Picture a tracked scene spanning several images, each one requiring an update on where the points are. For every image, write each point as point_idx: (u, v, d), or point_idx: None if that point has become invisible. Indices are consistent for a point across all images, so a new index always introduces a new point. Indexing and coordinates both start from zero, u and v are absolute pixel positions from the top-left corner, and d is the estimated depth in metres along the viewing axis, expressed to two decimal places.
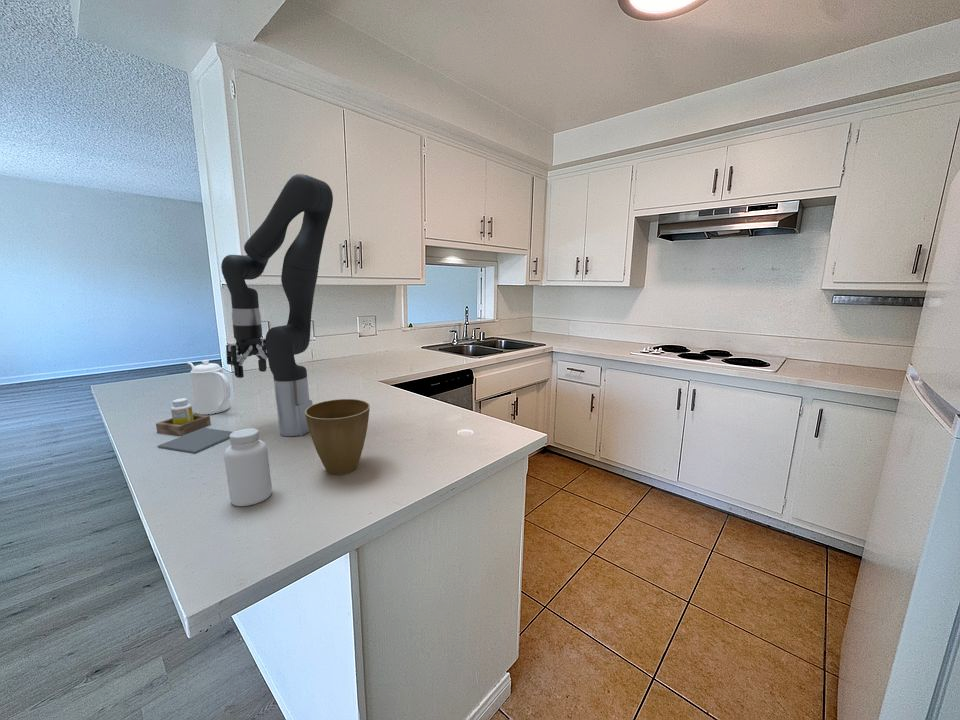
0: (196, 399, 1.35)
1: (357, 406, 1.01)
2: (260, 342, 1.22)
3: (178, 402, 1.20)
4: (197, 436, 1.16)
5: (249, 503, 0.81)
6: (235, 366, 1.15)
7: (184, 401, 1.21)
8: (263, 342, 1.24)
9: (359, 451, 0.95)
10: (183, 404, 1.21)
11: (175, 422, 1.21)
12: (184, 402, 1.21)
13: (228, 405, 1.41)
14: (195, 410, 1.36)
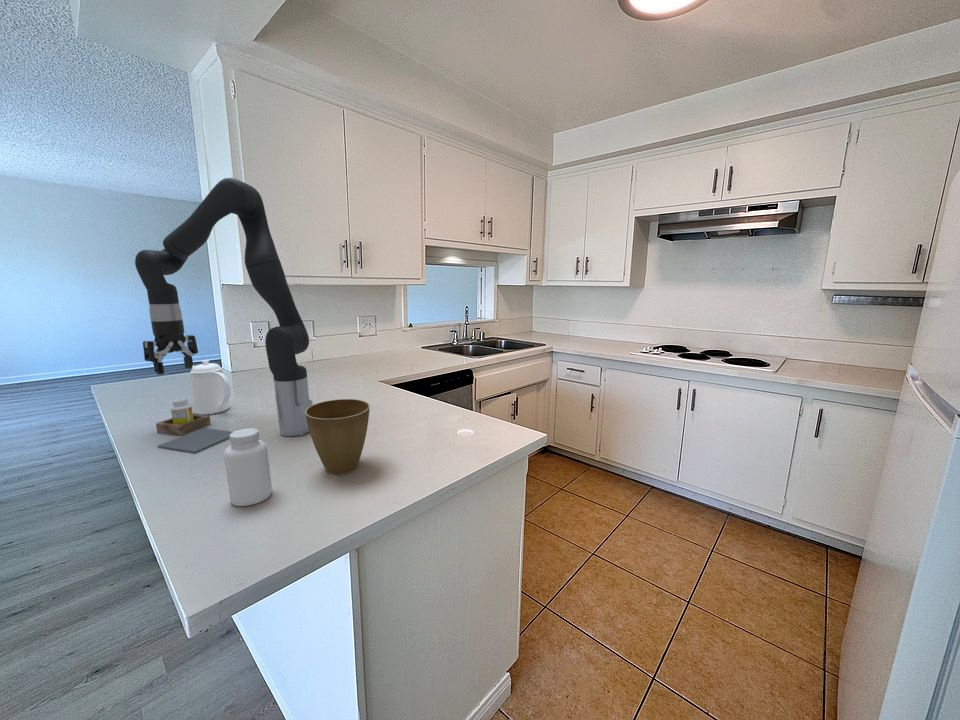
0: (196, 399, 1.35)
1: (357, 406, 1.01)
2: (183, 338, 1.21)
3: (178, 402, 1.20)
4: (197, 436, 1.16)
5: (249, 503, 0.81)
6: (154, 363, 1.14)
7: (184, 401, 1.21)
8: (188, 338, 1.23)
9: (359, 451, 0.95)
10: (183, 404, 1.21)
11: (175, 422, 1.21)
12: (184, 402, 1.21)
13: (228, 405, 1.41)
14: (195, 410, 1.36)
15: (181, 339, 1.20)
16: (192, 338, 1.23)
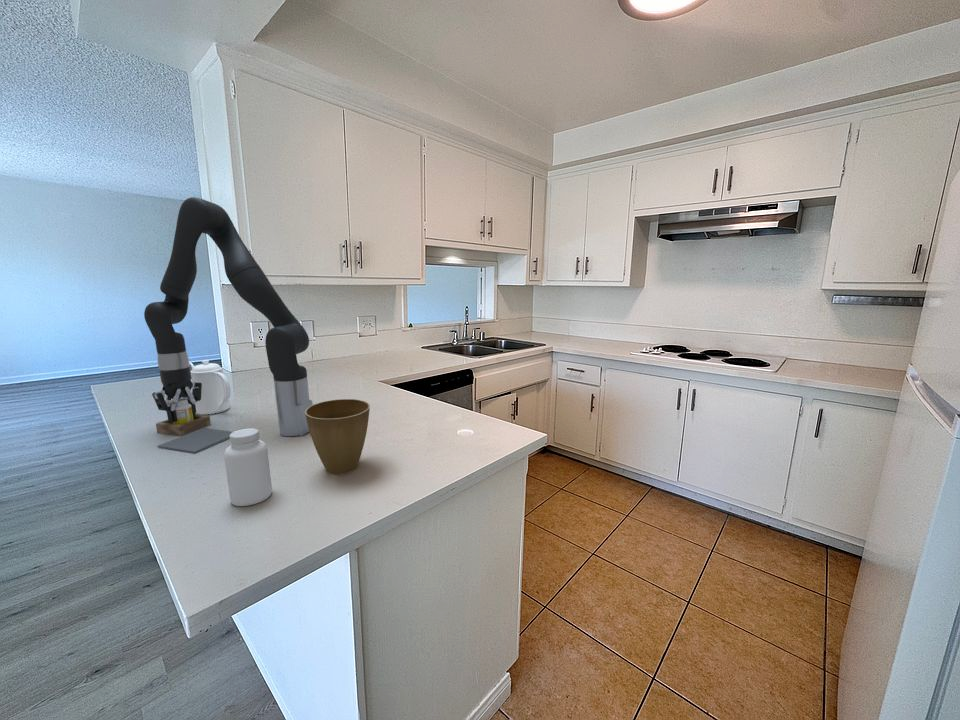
0: None
1: (357, 406, 1.01)
2: (190, 384, 1.24)
3: (178, 402, 1.20)
4: (197, 436, 1.16)
5: (249, 503, 0.81)
6: (167, 411, 1.18)
7: (184, 401, 1.21)
8: (194, 385, 1.26)
9: (359, 451, 0.95)
10: (183, 404, 1.21)
11: (175, 422, 1.21)
12: (184, 402, 1.21)
13: (228, 405, 1.41)
14: None
15: (188, 385, 1.23)
16: (199, 385, 1.26)
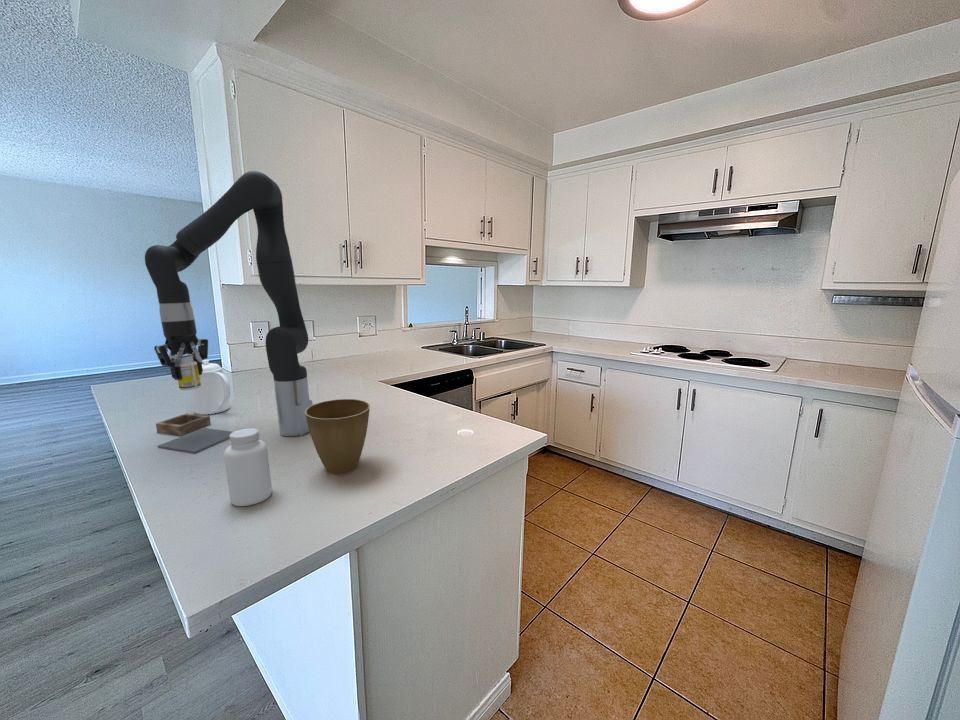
0: (196, 399, 1.35)
1: (357, 406, 1.01)
2: (196, 340, 1.14)
3: (182, 358, 1.10)
4: (197, 436, 1.16)
5: (249, 503, 0.81)
6: (171, 367, 1.08)
7: (189, 357, 1.11)
8: (200, 342, 1.15)
9: (359, 451, 0.95)
10: (188, 360, 1.11)
11: (180, 380, 1.11)
12: (189, 358, 1.11)
13: (228, 405, 1.41)
14: (195, 410, 1.36)
15: (193, 340, 1.13)
16: (205, 342, 1.16)
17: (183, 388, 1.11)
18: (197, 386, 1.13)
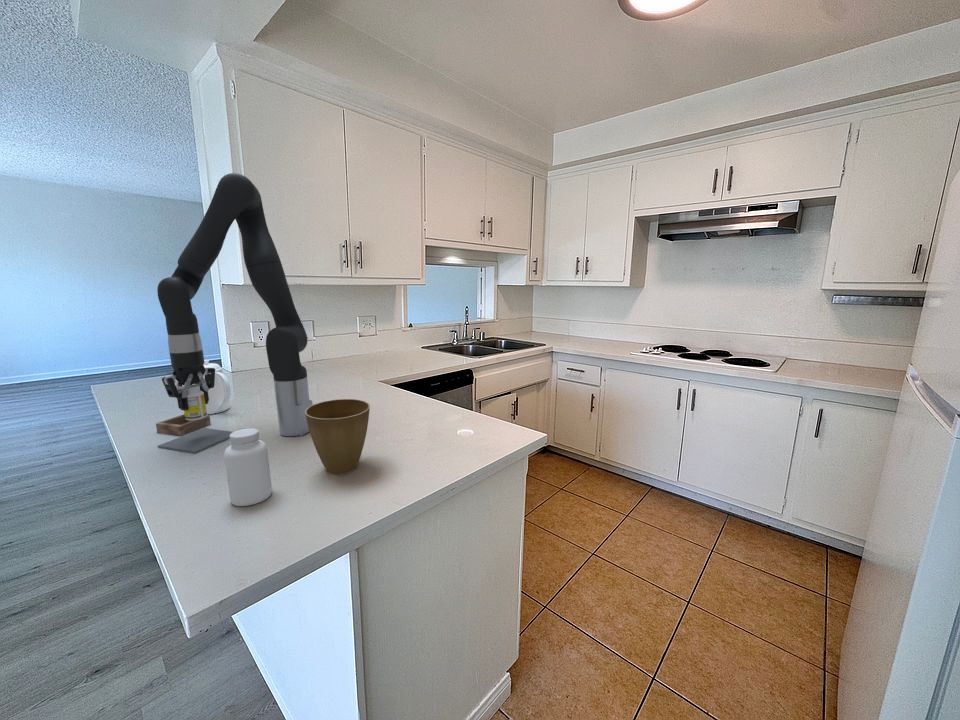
0: None
1: (357, 406, 1.01)
2: (203, 369, 1.13)
3: (190, 388, 1.10)
4: (197, 436, 1.16)
5: (249, 503, 0.81)
6: (178, 398, 1.08)
7: (196, 388, 1.11)
8: (207, 371, 1.15)
9: (359, 451, 0.95)
10: (195, 391, 1.10)
11: (186, 410, 1.10)
12: (196, 388, 1.11)
13: (228, 405, 1.41)
14: None
15: (201, 370, 1.12)
16: (212, 371, 1.16)
17: (189, 418, 1.10)
18: (203, 416, 1.12)
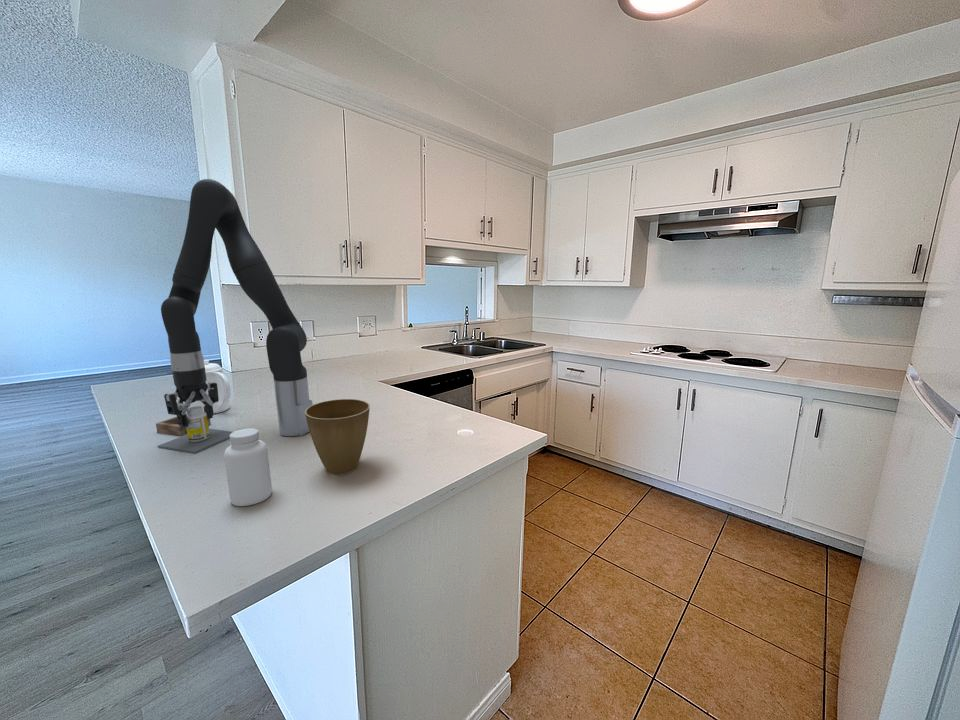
0: None
1: (357, 406, 1.01)
2: (205, 386, 1.14)
3: (192, 410, 1.11)
4: None
5: (249, 503, 0.81)
6: (178, 415, 1.08)
7: (199, 409, 1.12)
8: (209, 386, 1.16)
9: (359, 451, 0.95)
10: (198, 413, 1.11)
11: (189, 432, 1.11)
12: (199, 410, 1.12)
13: (228, 405, 1.41)
14: None
15: (203, 387, 1.13)
16: (214, 386, 1.16)
17: (192, 440, 1.11)
18: (206, 437, 1.13)
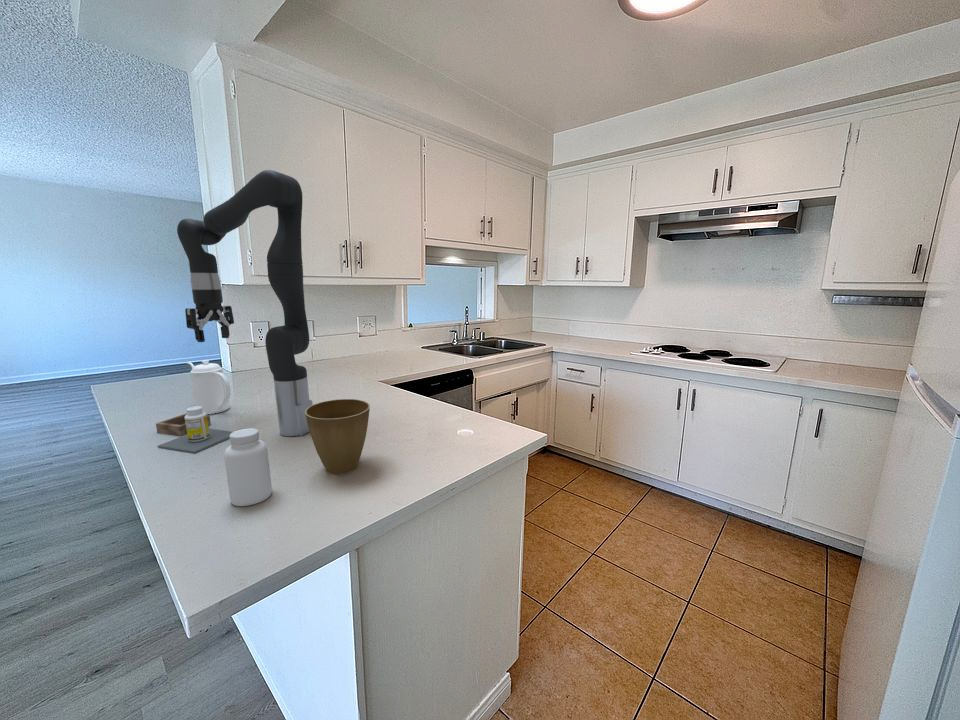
0: (196, 399, 1.35)
1: (357, 406, 1.01)
2: (221, 308, 1.24)
3: (192, 411, 1.10)
4: None
5: (249, 503, 0.81)
6: (195, 330, 1.17)
7: (199, 409, 1.12)
8: (225, 309, 1.26)
9: (359, 451, 0.95)
10: (198, 413, 1.11)
11: (189, 432, 1.11)
12: (198, 410, 1.11)
13: (228, 405, 1.41)
14: None
15: (219, 309, 1.23)
16: (229, 308, 1.26)
17: (192, 440, 1.11)
18: (206, 437, 1.13)
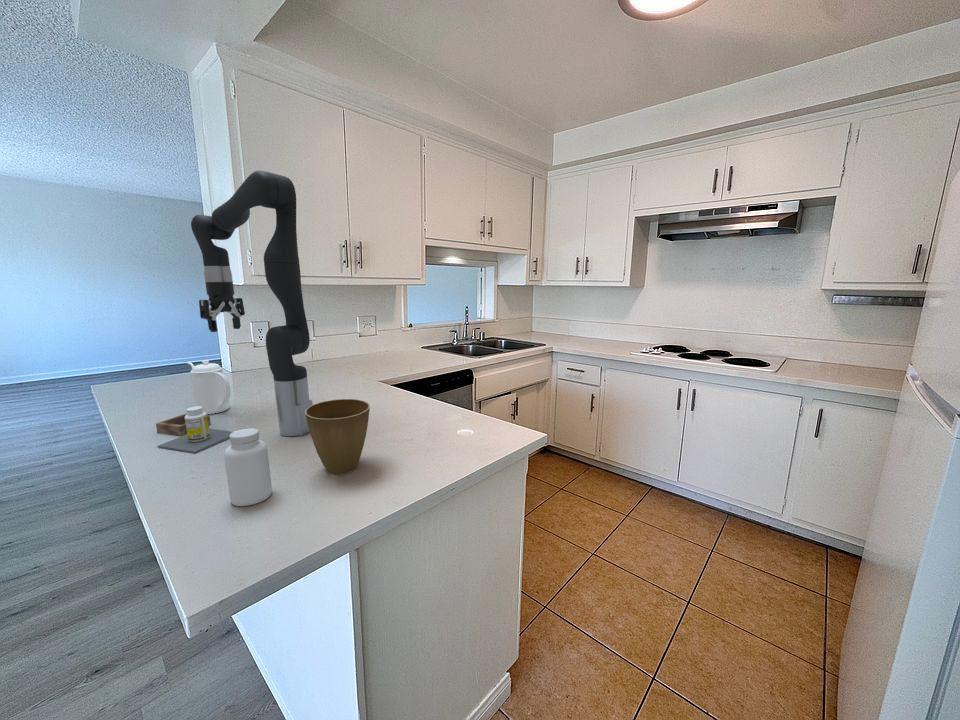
0: (196, 399, 1.35)
1: (357, 406, 1.01)
2: (233, 300, 1.30)
3: (193, 411, 1.10)
4: None
5: (249, 503, 0.81)
6: (208, 320, 1.23)
7: (199, 409, 1.12)
8: (236, 301, 1.32)
9: (359, 451, 0.95)
10: (198, 413, 1.11)
11: (189, 432, 1.11)
12: (199, 410, 1.11)
13: (228, 405, 1.41)
14: None
15: (231, 300, 1.29)
16: (240, 300, 1.32)
17: (192, 440, 1.11)
18: (206, 437, 1.13)
